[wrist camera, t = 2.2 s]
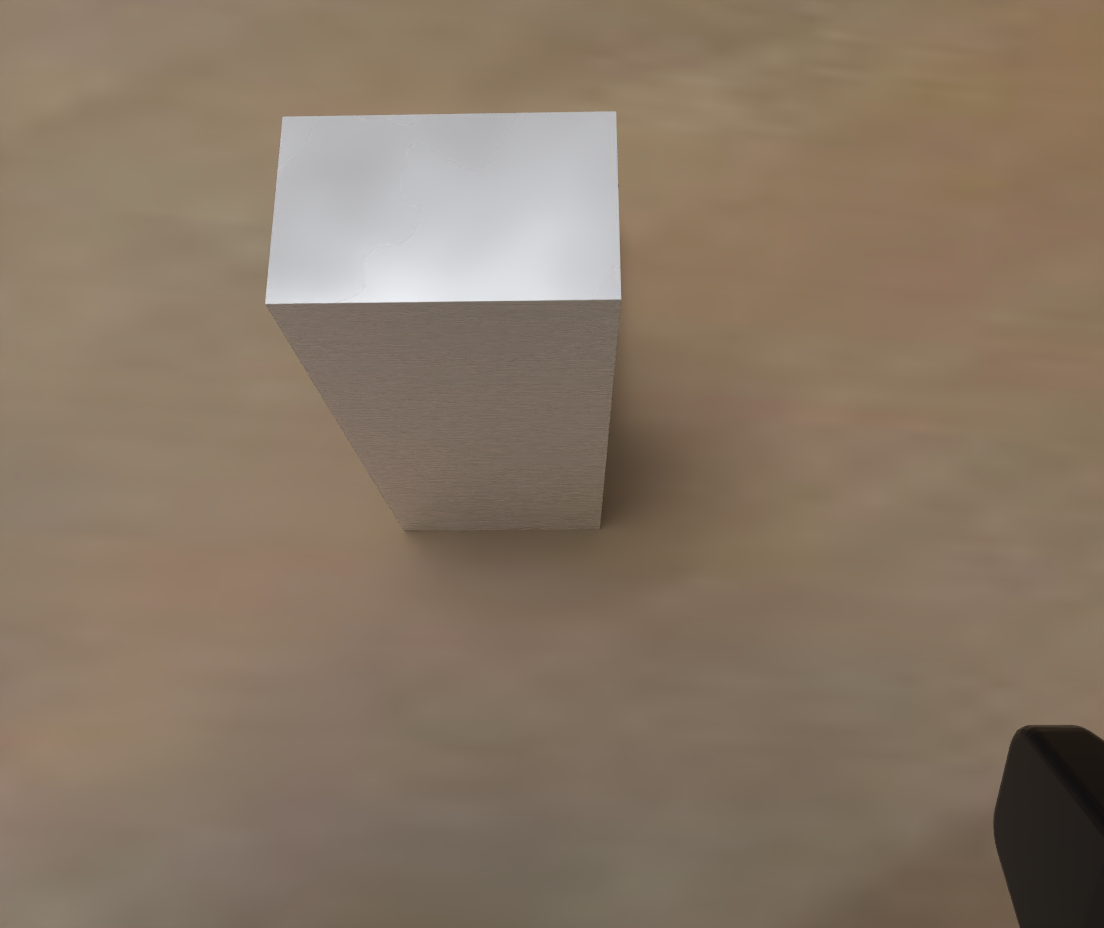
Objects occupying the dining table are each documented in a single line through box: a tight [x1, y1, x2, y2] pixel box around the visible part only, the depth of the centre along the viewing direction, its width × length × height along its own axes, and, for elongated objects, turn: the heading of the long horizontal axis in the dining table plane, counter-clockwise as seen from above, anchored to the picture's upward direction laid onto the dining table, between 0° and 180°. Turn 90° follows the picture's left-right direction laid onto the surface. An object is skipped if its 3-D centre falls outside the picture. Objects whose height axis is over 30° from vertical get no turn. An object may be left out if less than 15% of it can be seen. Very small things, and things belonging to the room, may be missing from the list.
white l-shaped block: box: [265, 112, 621, 531], centre depth 17 cm, size 7×4×10 cm, turn 0°
